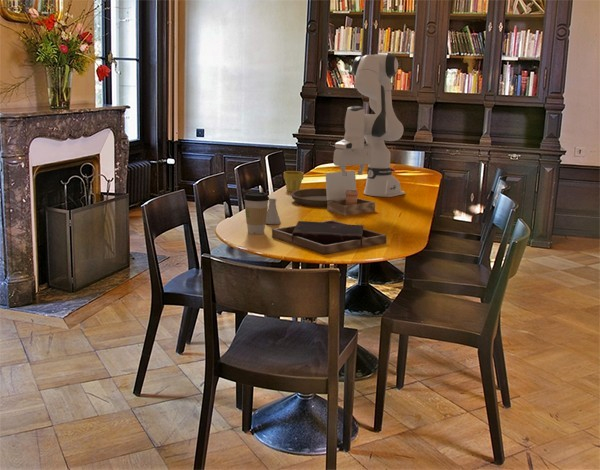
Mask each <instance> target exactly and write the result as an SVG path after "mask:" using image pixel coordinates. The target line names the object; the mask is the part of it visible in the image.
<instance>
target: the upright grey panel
mask: <svg viewBox="0 0 600 470" xmlns="http://www.w3.org/2000/svg"><path fill="white" fill-rule="evenodd" d="M345 171H346V170H345ZM346 172H347V176H342V171H335V172H325V188H326V192H327V200H333V199H341V198H346V195H345V191H346V190H356V191H357V182H356V181H357V179H356V178H357V177H356V176H357V175H356V170H347V171H346Z"/></svg>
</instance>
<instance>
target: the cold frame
mask: <svg viewBox="0 0 600 470" xmlns="http://www.w3.org/2000/svg"><path fill="white" fill-rule="evenodd" d="M326 210H327V212H329V213H332V214H333V213H334V214H338V215H341V216H352V215H359V214H366V213H367V214H368V213H373V212H376V201H371V200H367V199H362V198H360V197H359V198H358V197H357V204H354V205H347V206H346V199H345V200H337V201H332V200H330V201H329V202H327V207H326Z"/></svg>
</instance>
